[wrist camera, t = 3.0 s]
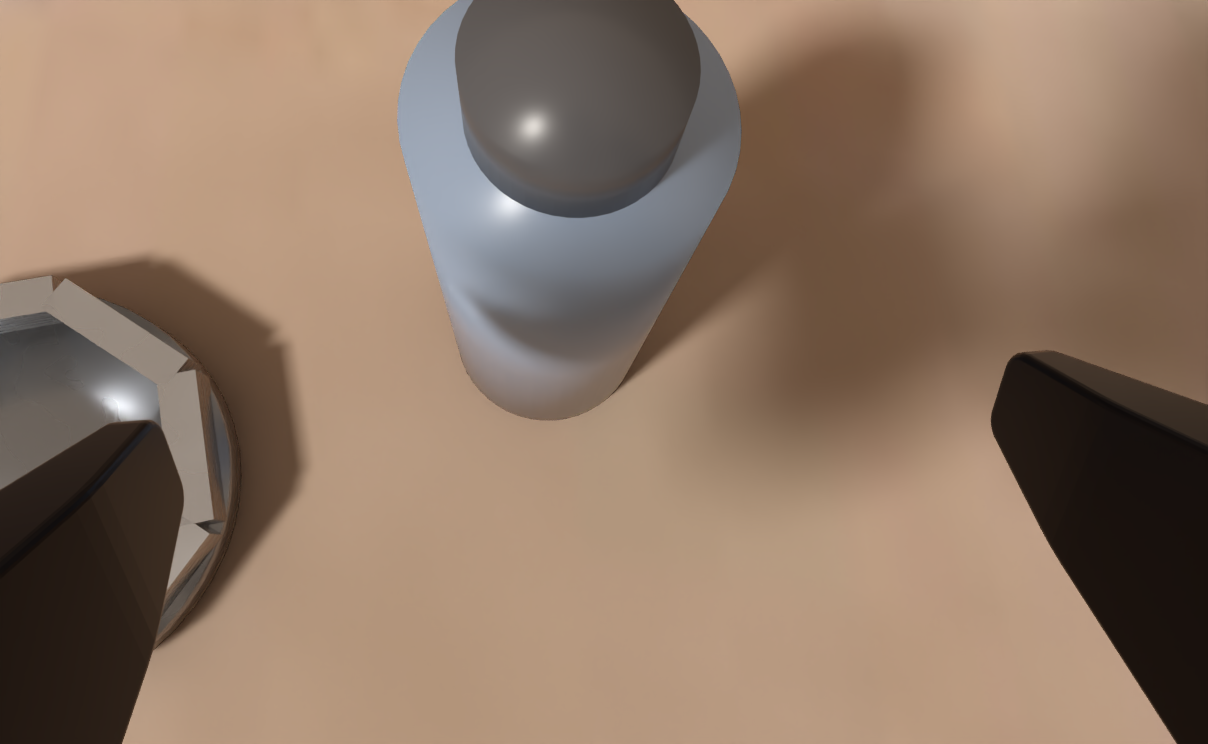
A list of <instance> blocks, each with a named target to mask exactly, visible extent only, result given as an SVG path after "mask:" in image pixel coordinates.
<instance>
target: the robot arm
mask: <svg viewBox="0 0 1208 744" xmlns="http://www.w3.org/2000/svg"><path fill="white" fill-rule="evenodd" d="M991 427H992V431H993V435H994V437H995V439H996V441H997V443H998V445H999V447H1000V449H1001V451H1002V453H1003V455H1004V457H1005V459H1006V461H1007V463H1008V465H1009V467H1010V469H1011V471H1012V473H1013V475H1014V477H1015V479H1016V481H1017V483H1018V485H1019V487H1020V489H1021V491H1022V493H1023V495H1024V497H1025V499H1026V500H1027V502H1028V504H1029V506H1030V508H1031V510H1032V512H1033V514H1034V516H1035V518H1036V520H1037V522H1038V524H1039V526H1040V528H1041V530H1042V532H1043V534H1044V536H1045V537H1046V539H1047V541H1048V543H1049V545H1050V547H1051V548H1052V550H1053V552H1054V553H1055V555H1056V556H1057V558H1058V560H1059V561H1060V563H1061V565H1062V566H1063V568H1064V569H1065V571H1066V572H1067V574H1068V576H1069V577H1070V579H1071V580H1072V582H1073V583H1074V585H1075V586H1076V588H1077V590H1078V591H1079V593H1080V594H1081V596H1082V597H1083V599H1084V600H1085V602H1086V604H1087V605H1088V607H1089V608H1090V610H1091V611H1092V613H1093V614H1094V616H1095V617H1096V619H1097V621H1098V622H1099V624H1100V625H1101V627H1102V628H1103V630H1104V631H1105V633H1106V635H1107V636H1108V638H1109V639H1110V641H1111V642H1112V644H1113V645H1114V647H1115V649H1116V650H1117V652H1118V653H1119V655H1120V656H1121V658H1122V659H1123V661H1124V663H1125V664H1126V666H1127V667H1128V669H1129V670H1130V672H1131V673H1132V675H1133V676H1134V678H1135V680H1136V681H1137V683H1138V684H1139V686H1140V687H1141V689H1142V690H1143V692H1144V694H1145V695H1146V697H1147V698H1148V700H1149V701H1150V703H1151V704H1152V706H1153V708H1154V709H1155V711H1156V712H1157V714H1158V715H1159V717H1160V718H1161V720H1162V722H1163V723H1164V725H1165V726H1166V728H1167V729H1168V731H1169V732H1170V734H1171V735H1172V737H1173V739H1174V740H1175V742H1176V743H1177V744H1208V405H1206V404H1204V403H1201V402H1198V401H1195V400H1192V399H1189V398H1187V397H1184V396H1181V395H1178V394H1175V393H1172V392H1170V391H1167V390H1164V389H1161V388H1158V387H1155V386H1152V385H1150V384H1147V383H1144V382H1141V381H1138V380H1135V379H1133V378H1130V377H1127V376H1124V375H1121V374H1118V373H1116V372H1113V371H1110V370H1107V369H1104V368H1101V367H1098V366H1096V365H1093V364H1090V363H1087V362H1084V361H1081V360H1079V359H1076V358H1073V357H1070V356H1067V355H1064V354H1062V353H1059V352H1055V351H1048V350H1045V351H1033V352H1022V353H1018V354H1016V355H1014V356H1013V357H1012V358H1011V359H1010V360H1009V361H1008V363H1007V366H1006V368H1005V372H1004V375H1003V378H1002V381H1001V384H1000V388H999V391H998V394H997V397H996V400H995V403H994V407H993V410H992V414H991ZM183 508H184V490H183V485H182V481H181V479H180V476H179V473H178V470H177V467H176V465H175V462H174V459H173V456H172V454H171V451H170V448H169V445H168V442H167V440H166V437H165V434H164V432H163V430H162V428H161V427H160V426H159V424H158V423H156V422H154V421H152V420H135V421H122V422H113V423H109V424H107V425H105V426H103V427H101V428H100V429H98V430H97V431H95V432H93V433H92V434H90V435H88V436H87V437H85V438H83V439H82V440H80V441H79V442H77V443H75V444H74V445H72V446H70V447H69V448H67V449H66V450H64V451H62V452H61V453H59V454H57V455H56V456H54V457H52V458H51V459H49V460H48V461H46V462H44V463H43V464H41V465H39V466H38V467H36V468H35V469H33V470H31V471H30V472H28V473H26V474H25V475H23V476H21V477H20V478H18V479H17V480H15V481H13V482H12V483H10V484H8V485H7V486H5V487H4V488H2V489H0V744H122V742H123V739H124V736H125V733H126V730H127V727H128V724H129V721H130V718H131V715H132V712H133V709H134V706H135V703H136V700H137V697H138V694H139V691H140V689H141V686H142V683H143V680H144V677H145V674H146V671H147V668H148V665H149V661H150V658H151V655H152V652H153V648H154V645H155V642H156V637H157V633H158V629H159V625H160V621H161V616H162V611H163V606H164V601H165V596H166V591H167V586H168V582H169V577H170V572H171V567H172V562H173V557H174V552H175V547H176V542H177V538H178V533H179V528H180V523H181V518H182V513H183Z"/></svg>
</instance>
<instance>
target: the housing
mask: <svg viewBox="0 0 1208 744" xmlns="http://www.w3.org/2000/svg"><path fill="white" fill-rule="evenodd" d="M135 420H152V421H154V422H156V423H158V424H159V426H160V427H161V428H162V430H163V432H164V434H165V437H166V440H167V442H168V445H169V448H170V451H171V454H172V456H173V459H174V462H175V465H176V467H177V470H178V473H179V476H180V479H181V481H182V485H183V490H184V508H183V513H182V518H181V523H180V528H179V533H178V538H177V542H176V547H175V552H174V557H173V562H172V567H171V572H170V577H169V582H168V586H167V591H166V596H165V601H164V606H163V611H162V616H161V621H160V625H159V629H158V633H157V637H156V642H155V645H154V648H153V650H154V649H155V648H156V647H157V646H158V645H159V644H160V643H161V642H162V641H163V640H164V639H165V638H167V637H168V636H169V635H170V634H171V633H172V632H173V631H174V630H175V629H176V628H177V627H178V626H179V625H180V623H181V622H182V621H183V620H184V619H185V617H186V616H187V615H188V614H189V613H190V611H191V610H192V609H193V608H194V607H195V606H196V604H197V603H198V601H199V600H200V598H201V597H202V595H203V594H204V592H205V590H206V589H207V587H208V586H209V584H210V583H211V581H212V580H213V578H214V575H215V573H216V571H217V569H218V567H219V565H220V563H221V561H222V559H223V557H224V555H225V553H226V550H227V547H228V544H229V541H230V538H231V535H232V532H233V530H234V525H235V520H236V516H237V511H238V506H239V499H240V486H241V465H240V450H239V446H238V441H237V436H236V431H235V426H234V424H233V421H232V418H231V415H230V412H229V410H228V407H227V404H226V402H225V400H224V398H223V397H222V395H221V393H220V391H219V389H218V387H217V385H216V383H215V382H214V380H213V379H212V378H211V376H210V375H209V374H208V372H207V371H206V370H205V368H204V367H203V366H202V364H201V363H200V362H199V361H198V360H197V359H196V358H195V357H194V356H193V355H192V354H191V353H190V352H189V351H188V350H187V349H186V348H185V347H184V346H183V345H182V344H180V343H179V342H178V341H177V340H175V339H174V338H173V337H171V336H170V335H169V334H167V333H166V332H165V331H163V330H162V329H160V328H159V327H157V326H156V325H154V324H152V323H151V322H149V321H148V320H146V319H144V318H142V317H141V316H139V315H137V314H135V313H133V312H132V311H130V310H128V309H126V308H123V307H121V306H118V305H116V304H113V303H111V302H108V301H106V300H103V299H100V298H96V297H95V296H93V295H91V294H90V293H88V292H87V291H85V290H84V289H82V288H81V287H79V286H77V285H76V284H74V283H73V282H71V281H70V280H68V279H66V278H65V279H64V280H63V281H60V280H58V279H57V278H55V277H53V276H52V275H50V276H44V277H38V278H32V279H26V280H20V281H14V282H8V283H2V284H0V489H2V488H4V487H5V486H7V485H8V484H10V483H12V482H13V481H15V480H17V479H18V478H20V477H21V476H23V475H25V474H26V473H28V472H30V471H31V470H33V469H35V468H36V467H38V466H39V465H41V464H43V463H44V462H46V461H48V460H49V459H51V458H52V457H54V456H56V455H57V454H59V453H61V452H62V451H64V450H66V449H67V448H69V447H70V446H72V445H74V444H75V443H77V442H79V441H80V440H82V439H83V438H85V437H87V436H88V435H90V434H92V433H93V432H95V431H97V430H98V429H100V428H101V427H103V426H105V425H107V424H109V423H113V422H122V421H135Z"/></svg>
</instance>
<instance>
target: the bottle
mask: <svg viewBox="0 0 1208 744" xmlns="http://www.w3.org/2000/svg"><path fill="white" fill-rule="evenodd" d="M397 122H398V131H399V140H400V145H401V149H402V153H403V156H404V160H405V164H406V167H407V171H408V174H409V178H410V181H411V185H412V188H413V192H414V195H415V199H416V202H417V206H418V209H419V213H420V216H421V220H422V223H423V227H424V230H425V234H426V237H427V241H428V244H429V248H430V251H431V254H432V258H433V261H434V265H435V268H436V272H437V275H438V279H439V282H440V286H441V289H442V293H443V296H444V300H445V303H446V307H447V310H448V314H449V317H450V321H451V324H452V328H453V331H454V335H455V338H456V342H457V345H458V349H459V352H460V355H461V359H462V362H463V364H464V367H465V369H466V371H467V373H468V375H469V376H470V378H471V380H472V381H473V383H474V384H475V385H476V387H477V388H478V389H479V390H480V391H481V392H482V393H483V394H484V395H485V396H486V397H487V398H488V399H489V400H491V401H492V402H493V403H495V404H496V405H497V406H499V407H501V408H503V409H504V410H506V411H508V412H510V413H513V414H515V415H518V416H521V417H525V418H529V419H536V420H560V419H567V418H570V417H574V416H578V415H580V414H583V413H585V412H587V411H589V410H591V409H593V408H595V407H596V406H598V405H599V404H601V403H602V402H603V401H605V400H606V399H607V398H608V397H609V396H610V395H611V394H612V393H613V392H614V391H615V390H616V389H617V388H618V386H619V385H620V384H621V382H622V381H623V379H624V377H625V376H626V374H627V372H628V370H629V368H630V367H631V365H632V363H633V361H634V359H635V358H636V356H637V354H638V352H639V350H640V349H641V347H642V345H643V343H644V341H645V340H646V338H647V336H648V334H649V332H650V331H651V329H652V327H653V325H654V323H655V322H656V320H657V318H658V316H659V314H660V313H661V311H662V309H663V307H664V305H665V303H666V302H667V300H668V298H669V296H670V294H671V293H672V291H673V289H674V287H675V285H676V284H677V282H678V280H679V278H680V276H681V275H682V273H683V271H684V269H685V267H686V266H687V264H688V262H689V260H690V258H691V257H692V255H693V253H694V251H695V249H696V248H697V246H698V244H699V242H700V240H701V239H702V237H703V235H704V233H705V231H706V230H707V228H708V226H709V224H710V222H711V221H712V219H713V217H714V215H715V213H716V212H717V210H718V208H719V206H720V204H721V203H722V201H723V199H724V197H725V195H726V194H727V192H728V190H729V188H730V185H731V182H732V180H733V177H734V174H735V172H736V168H737V163H738V158H739V154H740V146H741V117H740V109H739V104H738V99H737V95H736V91H735V88H734V85H733V82H732V80H731V77H730V74H729V72H728V70H727V68H726V66H725V64H724V62H723V60H722V58H721V56H720V54H719V53H718V52H717V50H716V49H715V47H714V46H713V44H712V43H711V41H710V40H709V38H708V37H707V36H706V35H705V34H704V33H703V32H702V30H701V29H700V28H699V27H698V26H697V25H696V24H695V23H694V22H693V21H692V20H691V19H690V18H689V17H688V16H687V15H685V14H684V13H683V12H682V11H681V9H680V8H679V6H678V5H677V4H676V3H675V1H674V0H458V1H457V2H455V3H454V4H453V5H452V6H450V7H449V8H448V9H447V10H445V11H444V12H443V13H442V14H441V15H440V16H439V17H438V18H437V20H436V21H435V22H434V23H433V24H432V25H431V26H430V27H429V28H428V30H427V31H426V33H425V34H424V35H423V37H422V38H421V40H420V41H419V42H418V44H417V46H416V48H415V50H414V52H413V54H412V56H411V57H410V59H409V61H408V64H407V67H406V70H405V73H404V76H403V79H402V83H401V88H400V93H399V99H398V119H397Z"/></svg>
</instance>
